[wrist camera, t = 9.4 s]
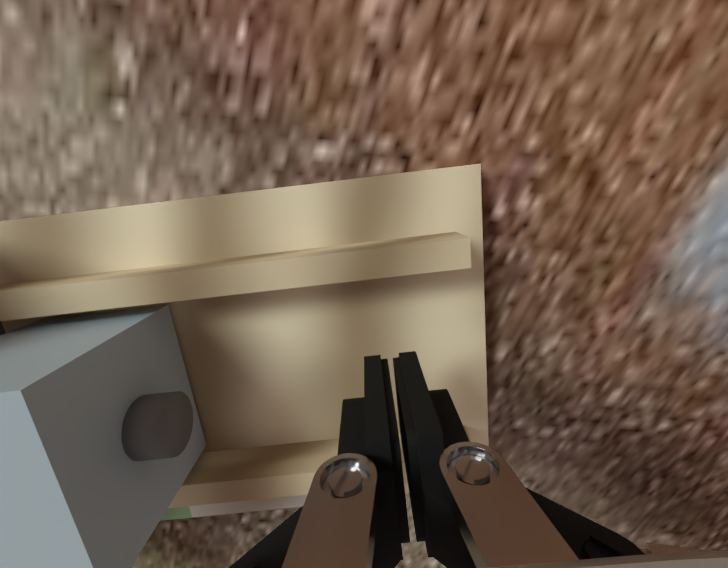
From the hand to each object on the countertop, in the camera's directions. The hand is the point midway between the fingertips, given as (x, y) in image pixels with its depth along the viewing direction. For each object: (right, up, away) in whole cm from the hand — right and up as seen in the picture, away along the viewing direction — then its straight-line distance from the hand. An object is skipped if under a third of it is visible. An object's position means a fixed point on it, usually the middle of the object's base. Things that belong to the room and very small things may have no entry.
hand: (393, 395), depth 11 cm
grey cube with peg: (-10, -2, +4) cm, 11 cm away
